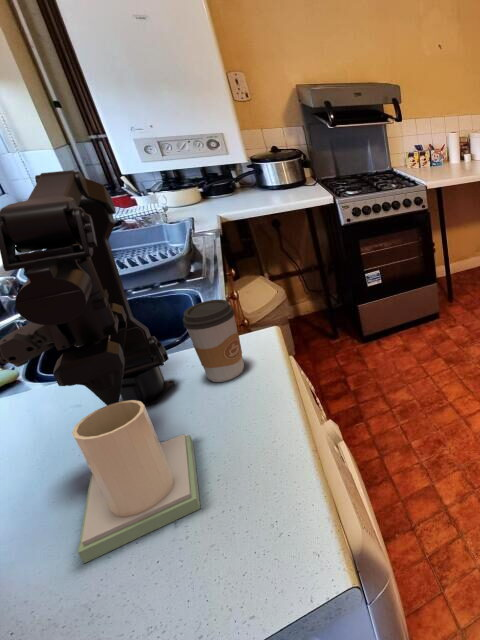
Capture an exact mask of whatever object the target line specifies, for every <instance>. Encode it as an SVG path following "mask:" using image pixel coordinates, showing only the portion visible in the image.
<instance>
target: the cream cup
mask: <svg viewBox="0 0 480 640" xmlns="http://www.w3.org/2000/svg"><path fill="white" fill-rule="evenodd" d="M150 418H151V417H150V416H149V413H148V411H147V408H146V405H144V404H143V403H142V402H141V401H136V400H128V401H122V400H121V401H119V402H117V403H114V404H110V405H105V406H103V407H100V408H98V409H97V410H94V411H92V412H91V413H89V414H88V415H85V416H83V418H82V419H81V420H80V421H78V422H77V423H76V425H74V427H73V429H72V432H71V434H72V437H73V438H74V440H75V443H76V444H77V446H78V448H79V450H80V452H81V454H82V456H83V458H84V460H85V462H86V464H87V466H88V468H89V470H90V472H91V473H92V474H93V476H94V478H95V480H96V482H97V484H98V486H99V488H100V490H101V492H102V494H103V496H104V498H105V500H106V502H107V504H108V506H109V508H110V509H111V511H112V513H113V514H114V515H116V516H120V517H126V516H132V515H135V514H138V513H141V512H143V511H145V510H147V509H149V508H151V507H153V506H154V505H156V504H157V503H159V502H160V501H161V500H162V499H163V498H165V497H166V496H167V494H168V493H169V492H170V491H171V489H172V487H173V485H174V477H173V474H172V471H171V469H170V466H169V464H168V462H167V459H166V457H165V454H164V452H163V449H162V447H161V444H160V443H161V442H160V439H159V437H158V435H157V432H156V429H155V428H154V425H153V423H152V420H151V419H150Z"/></svg>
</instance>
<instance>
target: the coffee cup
mask: <svg viewBox="0 0 480 640" xmlns="http://www.w3.org/2000/svg"><path fill="white" fill-rule="evenodd" d="M235 313H236V312H235V310H234V308H233V306H232V305H231V304H230V303H229V301H228V300H227V299H210V300H206V301H201V302H198V303H196V304H194V305H191V306H190V307H188V308H187V309H185V310H184V312H183V318H182V321H183V328H185V329H186V331H187V332H188V335H189V338H190V340H191V341H192V345H193V348H194V351H195V352H196V353H195V354H196V355H197V357H198V360H199V362H200V364H201V366H202V367H203V370H204V373H205V374H206V377H207V379H208V380H209V381H211V382H214V383H223V382H227V381H231V380H233V379H235V378H237V377H238V376H240V375H241V374H242V373H243V371H244V368H245V363H244V357H243V350H242V346H241V340H240V335H239V332H238V328H237V323H236V318H235Z"/></svg>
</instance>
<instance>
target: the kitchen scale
mask: <svg viewBox="0 0 480 640" xmlns="http://www.w3.org/2000/svg"><path fill="white" fill-rule="evenodd" d="M160 444H161V447H162V449H163V452H164V454H165V457H166V459H167V462H168V464H169V466H170V469H171V471H172V474H173V477H174V485H173V487H172V489H171V491H170V492H169V493H168V494H167V496H166V497H165V498H163V499H162V500H161V501H160V502H159V503H157V504H156V505H154V506H153V507H151V508H149V509H147V510H145V511H143V512H141V513H138V514H135V515H132V516H126V517H120V516H116V515H114V514H113V513H112V511H111V509H110V508H109V506H108V504H107V502H106V500H105V498H104V496H103V494H102V492H101V490H100V488H99V486H98V484H97V482H96V480H95V478H94V476H93V474H92V472H91V473H90V476H89V477H90V478H89V484H88V488H87V495H86V502H85V507H84V509H85V510H84V514H83V520H82V526H81V532H80V539H79V543H78V551H77V553H78V555H79V558H80V559H81V560H82V563H83V564H86V563H88V562H91V561H92V560H95V559H97V558H99V557H101V556H103V555H106V554H108V553H109V552H111V551H114V550H115V549H118V548H120V547H122V546H124V545H126V544H129V543H130V542H132V541H135V540H137V539H139V538H142V537H143V536H145V535H148V534H150V533H152V532H154V531H156V530H158V529H160V528H162V527H164V526H166V525H168V524H170V523H173V522H174V521H177V520H179V519H181V518H183V517H185V516H188V515H190V514H192V513H194V512H196V511H198V510H201V502H200V501H201V500H200V493H199V484H198V483H199V482H198V474H197V466H196V465H197V464H196V456H195V447H194V442H193V439H192V437H191V434H187V435H186V434H185V433H183V434H180V435H178V436H176V437H173V438H170V439H168V440H165V441H162V442H160Z"/></svg>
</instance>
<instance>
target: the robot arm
mask: <svg viewBox="0 0 480 640" xmlns="http://www.w3.org/2000/svg"><path fill="white" fill-rule="evenodd" d="M34 179H35V186H34V187H33V188H32V189H33V190H32V191H31V193H30V195H29V196H28V198H27V200H22V201H19V202H14V203H9V204H7V205H6V206H4V207H2V208H1V209H0V257H1V262H2V267H3V269H4V272H9V271H10V272H11V271H16V270H22V269H23V270H24V272H25V274H26V281H25V282H24V284H23V285H22V287H21V288H20V289H19V291H18V292H17V294H16V296H15V300H14V307H15V310H16V311H17V312H16V313H18V315H19V316H20V317H22V318H23V319H24V320H25V321H28V322H29V323H27V324H25V325H22V326H21V327H19V328H17V329H15V330H14V331H12V332H10V333H8V334H6V335H5V336H3V337H1V339H0V363H1V364H11V365H13V366H15V367H16V368H20V367H23V366H25V365H26V364H28V363H29V361H30V360H32V359H34V358H36V357H37V356H40V355H41V354H43V353H45V352H47V351H49V350H51V349H52V348H54V347H55V348H56V351H61V350H65V349H69V348H71V346H74V347H77V348H75V349H72V350H68V351H65V352H63V353H62V354H61V355H60V356H59V358H58V359H57V360H56V362H55V366H54V368H53V372H52V375H53V378H54V379H55V382H56V383H57V385H58V387H74V386H77V385H78V386H84V387H85V388H87V389H88V390H89V391H90V392H91V393H93V394H94V395H95V396H96V397H97V398H98V399H99V400H100V401H101V402H103V403H104V405H105V406H107V405H110V404H114V403H117V402H120V398H121V401H128V400H136V401H141V402H142V403H143V404H144V406H151V405H155V404H157V403H158V402H159V401H160V399H162V398H163V397H164V395H165V394H166V393H167V392H168V391H169V390H170V389H171V388H172V387H173V386H174V385H175V381H174V380H165V377H164V374H163V371H162V370H161V367H163V366H165V363H166V362H167V361H168V360H170V358H169V355H168V352H167V350H166V348H165V347H164V345H163V343H162V341H159V340H158V338H157V337H156V336H155V335H153V336H151V332H150V329H149V328H148V327H147V326H146V325H145V324H143V323H142V322H140V321H139V320H138V319H136V318H135V317H134V316H133V313H132V309H131V307H130V303H129V301H128V297H127V295H126V291H125V288H124V285H123V282H122V278H121V276H120V271H119V269H118V265H117V263H116V260H115V257H114V254H113V250H112V247H111V244H110V241H109V239H110V237H111V235H112V232H113V230H114V228H115V225H116V222H115V218H114V215H115V214H117V210H116V207H115V204H114V201H113V199H112V196H111V194H110V193H109V191H108V189H107V188H106V186H105V185H104V184H102V183H99V182H97V181H94V180H91V179H88V178H86V177H85V176H84V175H83V174H82V172H81V171H80V170H78V171H76V170H73V169H70V170H69V169H68V170H59V171H49V172H41V173H40V174H36V175H35V177H34ZM17 253H19V254H17Z"/></svg>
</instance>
